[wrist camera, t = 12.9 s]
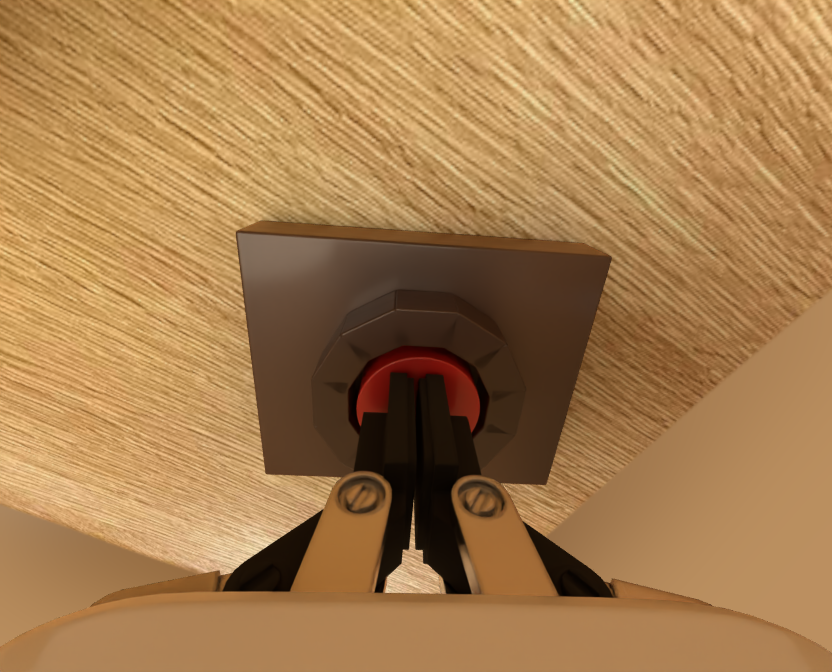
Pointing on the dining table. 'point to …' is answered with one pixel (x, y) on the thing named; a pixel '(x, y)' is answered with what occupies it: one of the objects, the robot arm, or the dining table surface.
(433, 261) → the button block
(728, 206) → the dining table surface
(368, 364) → the button
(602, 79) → the dining table surface
